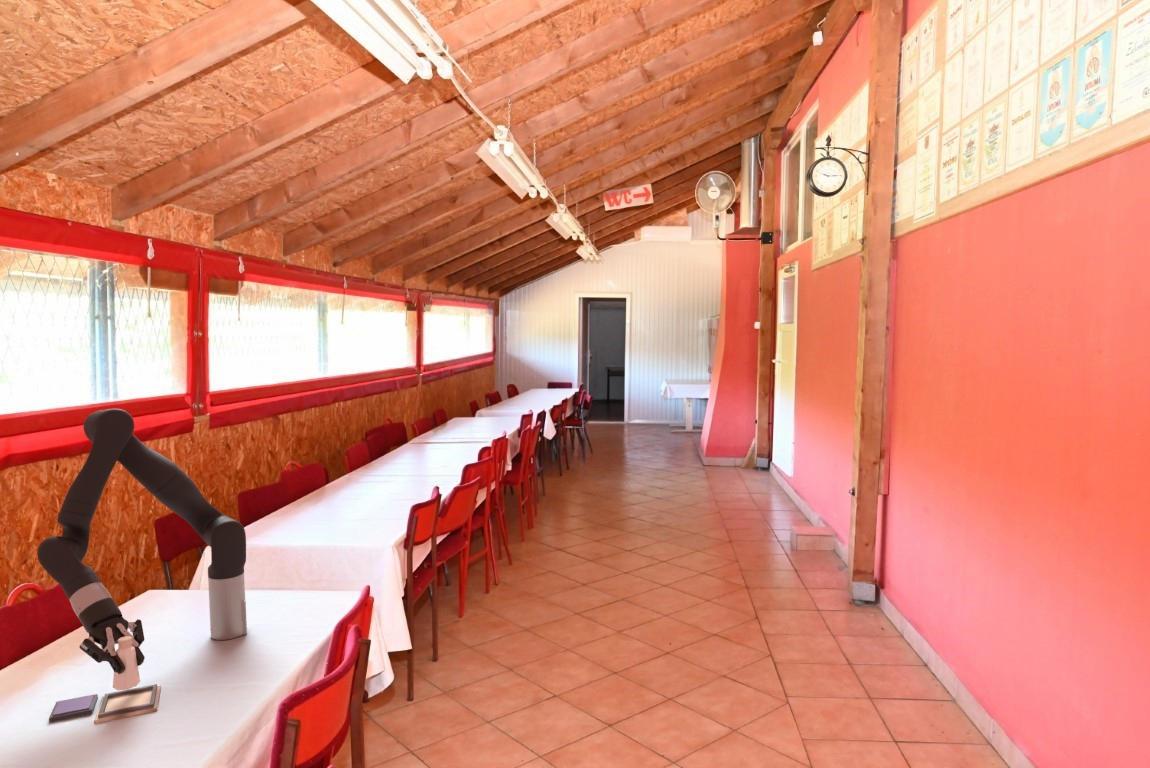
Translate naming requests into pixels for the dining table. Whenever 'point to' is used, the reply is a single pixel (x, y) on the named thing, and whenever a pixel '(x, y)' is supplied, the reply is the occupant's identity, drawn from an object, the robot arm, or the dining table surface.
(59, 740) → the dining table surface
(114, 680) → the pepper shaker
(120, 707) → the board
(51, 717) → the ink pad
